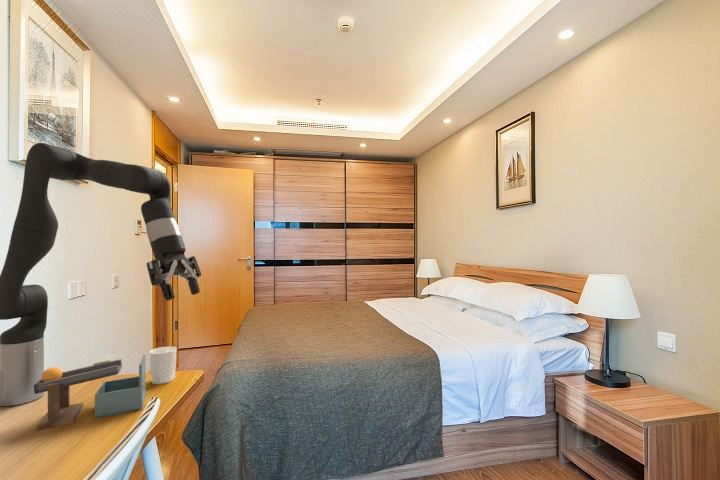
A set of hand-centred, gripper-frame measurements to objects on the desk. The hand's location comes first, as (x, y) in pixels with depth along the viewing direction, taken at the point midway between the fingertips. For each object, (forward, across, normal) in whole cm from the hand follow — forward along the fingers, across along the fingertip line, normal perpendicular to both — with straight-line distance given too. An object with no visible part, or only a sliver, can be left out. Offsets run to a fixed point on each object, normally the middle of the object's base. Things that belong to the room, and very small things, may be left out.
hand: (183, 296), depth 89 cm
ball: (+8, +11, -37) cm, 39 cm away
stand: (+19, +10, -39) cm, 45 cm away
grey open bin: (+22, +1, -30) cm, 37 cm away
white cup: (+21, -17, -35) cm, 44 cm away
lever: (+11, +4, -36) cm, 37 cm away
